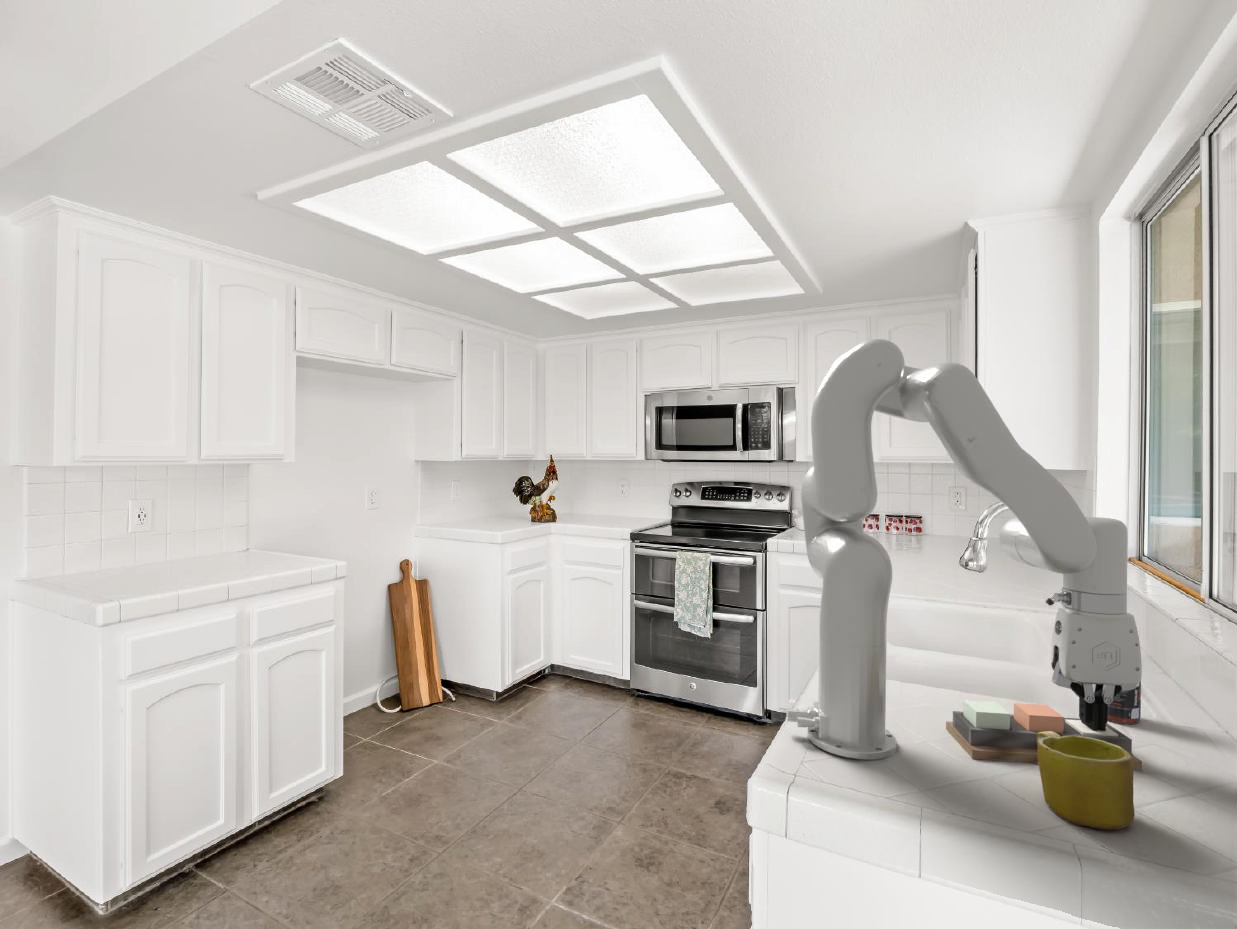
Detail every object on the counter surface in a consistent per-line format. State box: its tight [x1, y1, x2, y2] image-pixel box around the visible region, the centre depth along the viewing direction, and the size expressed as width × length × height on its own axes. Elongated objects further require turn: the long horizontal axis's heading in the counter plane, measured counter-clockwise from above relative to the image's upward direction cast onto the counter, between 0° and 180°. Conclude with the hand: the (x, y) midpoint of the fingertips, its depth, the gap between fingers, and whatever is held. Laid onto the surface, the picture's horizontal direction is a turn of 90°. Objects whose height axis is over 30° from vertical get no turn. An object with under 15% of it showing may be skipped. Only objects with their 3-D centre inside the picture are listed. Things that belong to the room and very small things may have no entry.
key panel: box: [945, 710, 1143, 771], centre depth 94 cm, size 22×10×4 cm, turn 82°
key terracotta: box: [1013, 702, 1065, 733], centre depth 94 cm, size 5×5×2 cm
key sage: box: [962, 699, 1011, 730], centre depth 95 cm, size 5×5×2 cm
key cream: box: [1065, 719, 1118, 737], centre depth 93 cm, size 5×5×2 cm
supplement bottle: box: [1108, 680, 1142, 725], centre depth 105 cm, size 6×6×11 cm
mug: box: [1037, 731, 1135, 830], centre depth 78 cm, size 12×10×10 cm
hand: (1093, 727), depth 93 cm, fingers closed
